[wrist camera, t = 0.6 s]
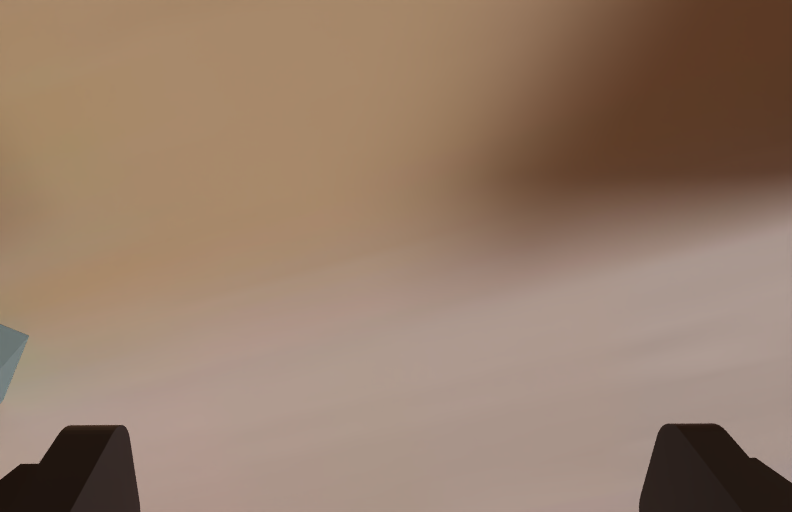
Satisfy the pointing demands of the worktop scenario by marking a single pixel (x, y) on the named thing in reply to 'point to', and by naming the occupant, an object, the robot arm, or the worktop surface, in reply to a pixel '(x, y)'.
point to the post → (9, 355)
